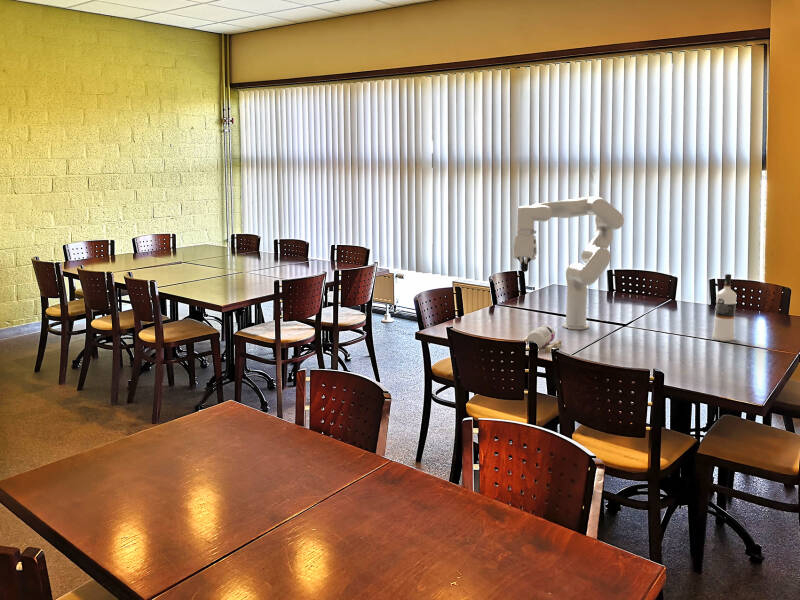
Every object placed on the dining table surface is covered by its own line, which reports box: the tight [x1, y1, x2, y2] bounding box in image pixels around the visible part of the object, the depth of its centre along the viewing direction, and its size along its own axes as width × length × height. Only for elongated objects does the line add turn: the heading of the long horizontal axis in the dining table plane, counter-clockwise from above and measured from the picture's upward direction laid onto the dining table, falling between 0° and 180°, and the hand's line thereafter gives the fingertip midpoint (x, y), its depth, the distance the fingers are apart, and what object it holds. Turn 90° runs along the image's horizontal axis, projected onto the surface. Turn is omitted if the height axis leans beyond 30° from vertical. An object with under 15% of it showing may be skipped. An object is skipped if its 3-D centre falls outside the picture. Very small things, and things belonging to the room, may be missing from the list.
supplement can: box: [526, 324, 556, 349], centre depth 322 cm, size 8×8×15 cm
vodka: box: [711, 273, 738, 342], centre depth 330 cm, size 9×9×30 cm
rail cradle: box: [521, 336, 562, 354], centre depth 322 cm, size 14×16×2 cm
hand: (524, 271), depth 345 cm, fingers closed
